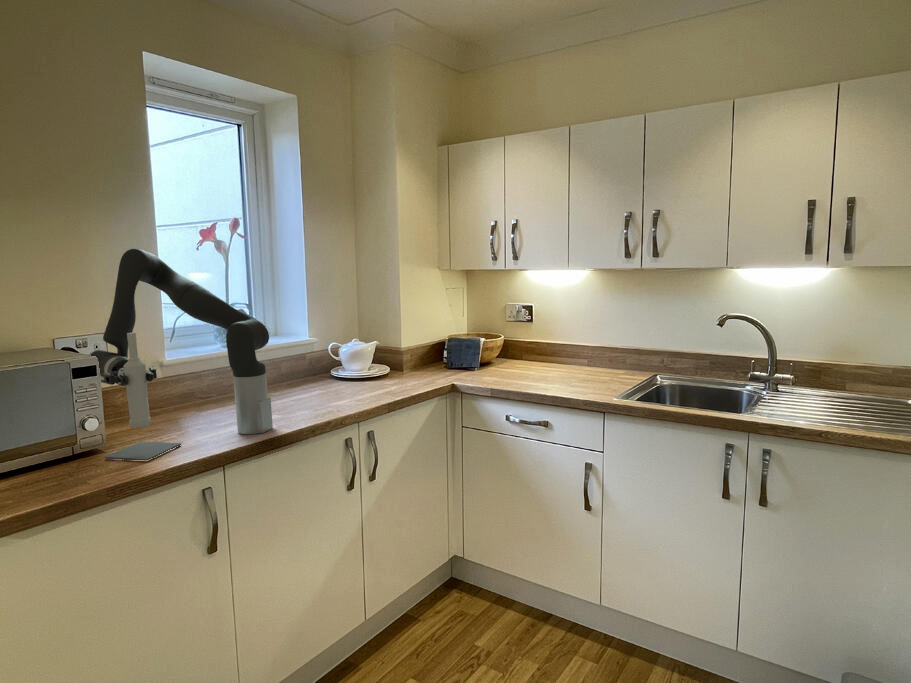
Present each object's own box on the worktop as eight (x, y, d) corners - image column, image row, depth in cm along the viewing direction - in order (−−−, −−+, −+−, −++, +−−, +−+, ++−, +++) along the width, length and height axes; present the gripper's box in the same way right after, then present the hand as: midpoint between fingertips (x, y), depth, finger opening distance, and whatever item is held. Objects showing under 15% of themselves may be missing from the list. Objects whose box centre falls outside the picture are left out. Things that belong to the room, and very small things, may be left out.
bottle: (154, 422, 158) (146, 331, 154) (145, 427, 153) (136, 334, 149) (135, 422, 158) (126, 332, 154) (125, 428, 153) (116, 334, 149)
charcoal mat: (181, 446, 161) (181, 443, 161) (147, 462, 148) (147, 459, 148) (141, 444, 164) (140, 441, 164) (104, 459, 151) (104, 456, 151)
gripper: (91, 361, 158) (106, 369, 146) (148, 354, 168) (166, 361, 156) (94, 387, 159) (109, 398, 147) (150, 379, 169) (169, 388, 157)
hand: (138, 379), depth 151 cm, fingers closed on bottle, 5 cm apart
